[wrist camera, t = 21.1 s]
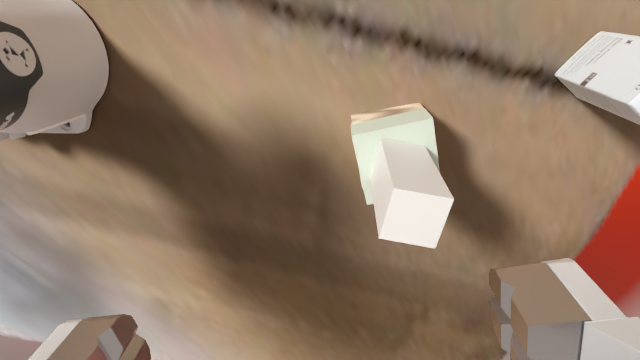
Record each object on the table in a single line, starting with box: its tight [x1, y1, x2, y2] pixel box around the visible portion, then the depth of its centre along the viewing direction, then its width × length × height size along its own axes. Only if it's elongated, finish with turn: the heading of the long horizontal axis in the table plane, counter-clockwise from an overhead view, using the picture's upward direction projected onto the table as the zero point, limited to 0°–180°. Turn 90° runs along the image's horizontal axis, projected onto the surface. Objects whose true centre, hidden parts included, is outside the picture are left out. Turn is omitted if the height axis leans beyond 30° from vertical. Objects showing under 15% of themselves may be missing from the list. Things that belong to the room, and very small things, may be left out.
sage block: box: [351, 108, 440, 205], centre depth 40 cm, size 8×8×4 cm
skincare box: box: [555, 31, 640, 125], centre depth 35 cm, size 6×4×12 cm
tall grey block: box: [370, 138, 454, 248], centre depth 33 cm, size 4×4×11 cm
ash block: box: [351, 103, 424, 188], centre depth 44 cm, size 8×8×4 cm
